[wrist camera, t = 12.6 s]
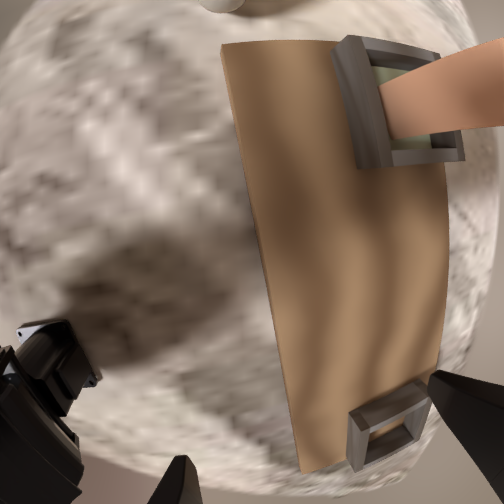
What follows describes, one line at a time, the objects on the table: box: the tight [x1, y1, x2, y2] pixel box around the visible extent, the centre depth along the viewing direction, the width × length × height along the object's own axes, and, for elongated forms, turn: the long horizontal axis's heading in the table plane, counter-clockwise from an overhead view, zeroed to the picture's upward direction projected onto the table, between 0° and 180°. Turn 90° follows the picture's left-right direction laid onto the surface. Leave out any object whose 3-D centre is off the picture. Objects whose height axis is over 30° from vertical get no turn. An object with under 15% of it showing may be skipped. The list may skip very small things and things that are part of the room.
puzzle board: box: [220, 35, 465, 475], centre depth 20 cm, size 17×42×4 cm, turn 11°
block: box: [377, 37, 504, 140], centre depth 11 cm, size 4×4×12 cm
